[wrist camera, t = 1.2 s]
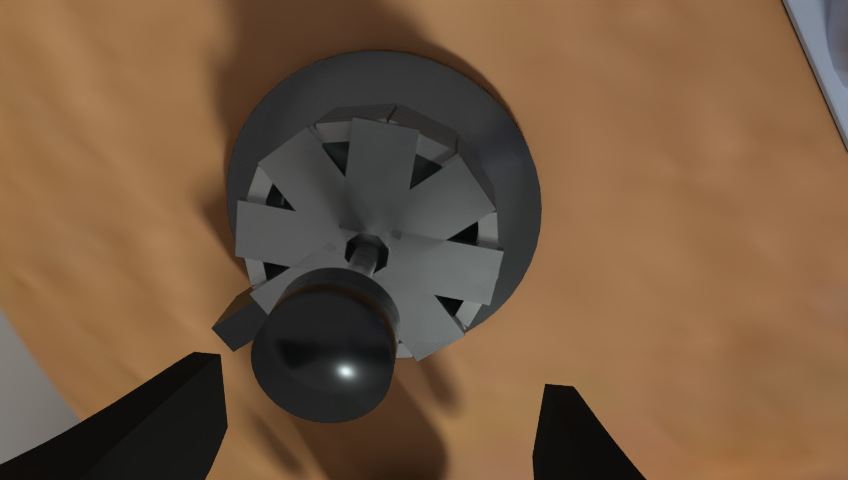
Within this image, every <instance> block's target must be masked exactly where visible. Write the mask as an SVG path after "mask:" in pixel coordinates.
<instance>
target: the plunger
mask: <svg viewBox="0 0 848 480" xmlns="http://www.w3.org/2000/svg"><path fill="white" fill-rule="evenodd" d="M378 258H379V249H378V248H377V246H376V245H375V244H373V243H371V242H361V243H360V244H358V245H357V247H356V249H355V251H354V253H353V255H352V257H351V260H350V262H349V264H348V266H347V268H346V269H345V268H335V267H328V268H320V269H316V270H312V271H309V272H307V273H304V274H302V275H301V276H299V277H297V278H296V279H295V280H293V281H292V282H291V283H290V284H289V285H288V286H287V287H286V289H285V290H284V292H283V293H282V295H281V296H280V298H279V299H278V301H277V302H276V304H275V306H274V307H273V309H272V310H271V312H270V313H269V315H268V317H267V318H266V320H265V321H264V323H263V324H262V326H261V328H260V329H259V331H258V332H257V334H256V336H255V338H254V342H253V345H252V351H251V362H252V368H253V371H254V374H255V377H256V379H257V381H258V383H259V385H260V386H261V388H262V389H263V391H264V392H265V393H266V394H267V396H268V397H269V398H270V399H271V400H272V401H273V402H274V403H276V404H277V405H278V406H280V407H281V408H282V409H284V410H286V411H287V412H289V413H291V414H293V415H295V416H298V417H300V418H303V419H306V420H310V421H314V422H321V423H339V422H345V421H350V420H353V419H357V418H359V417H361V416H363V415H365V414H367V413H368V412H370V411H371V410H373V409H374V408H375V407H376V406H377V405H378V404H379V403H380V402H381V401H382V400H383V398H384V397H385V395H386V393H387V391H388V389H389V386H390V383H391V379H392V374H393V369H394V364H395V359H396V354H397V349H398V344H399V339H400V333H401V321H400V316H399V312H398V310H397V307H396V305H395V303H394V301H393V300H392V298H391V297H390V295H389V294H388V293H387V292H386V290H385V289H384V288H383V287H382V286H380V285H379V284H378V283H377V282H375V281H374V280H372V279H371V277H372V275H373V272H374V269H375V266H376V263H377V260H378Z"/></svg>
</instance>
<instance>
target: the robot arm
mask: <svg viewBox="0 0 848 480" xmlns="http://www.w3.org/2000/svg"><path fill="white" fill-rule="evenodd" d="M783 3H784V5H785V7H786V10H787V12H788V14H789V17H790V19H791V21H792V23H793V26H794V28H795V30H796V33H797V35H798V37H799V40H800V42H801V44H802V46H803V49H804V51H805V53H806V56H807V58H808V60H809V63H810V65H811V67H812V69H813V72H814V74H815V76H816V79H817V81H818V83H819V86H820V88H821V90H822V92H823V95H824V97H825V99H826V102H827V104H828V106H829V109H830V111H831V113H832V115H833V118H834V120H835V122H836V125H837V127H838V129H839V131H840V134H841V136H842V138H843V141H844V143H845V145H846V148H847V150H848V0H783ZM227 428H228V424H227V414H226V404H225V394H224V385H223V375H222V365H221V355H220V354H211V353H200V352H193V353H191V354H189V355H188V356H186V357H184V358H183V359H181V360H179V361H178V362H176V363H175V364H173V365H172V366H170V367H169V368H167V369H165V370H164V371H162V372H161V373H159V374H158V375H156V376H155V377H153V378H152V379H150V380H149V381H147V382H146V383H144V384H142V385H141V386H139V387H138V388H136V389H135V390H133V391H132V392H130V393H128V394H127V395H125V396H124V397H122V398H121V399H119V400H117V401H116V402H114V403H113V404H111V405H109V406H108V407H106V408H104V409H103V410H101V411H99V412H98V413H96V414H94V415H92V416H91V417H89V418H87V419H86V420H84V421H82V422H81V423H79V424H77V425H76V426H74V427H72V428H70V429H69V430H67V431H65V432H63V433H62V434H60V435H58V436H56V437H54V438H52V439H50V440H49V441H47V442H45V443H43V444H41V445H39V446H37V447H35V448H33V449H31V450H29V451H27V452H25V453H23V454H21V455H19V456H17V457H15V458H13V459H11V460H9V461H7V462H5V463H3V464H0V480H205V479H206V477H207V475H208V473H209V471H210V469H211V467H212V465H213V462H214V460H215V458H216V455H217V453H218V451H219V448H220V446H221V443H222V440H223V438H224V435H225V433H226V430H227ZM532 458H533V472H534V480H646V479H645V477H644V476H643V475H642V474H641V473H640V472H639V470H638V469H637V468H636V467H635V466H634V465H633V463H632V462H631V461H630V460H629V459H628V457H627V456H626V455H625V454H624V452H623V451H622V450H621V449H620V447H619V446H618V445H617V444H616V442H615V441H614V440H613V439H612V437H611V436H610V435H609V433H608V432H607V431H606V430H605V428H604V427H603V426H602V424H601V423H600V422H599V420H598V419H597V417H596V416H595V415H594V413H593V412H592V411H591V409H590V408H589V407H588V405H587V404H586V402H585V401H584V400H583V398H582V397H581V395H580V394H579V393H578V391H577V390H576V389H575V388H574V387H573V386H563V385H552V384H545V388H544V393H543V399H542V405H541V410H540V416H539V422H538V427H537V433H536V439H535V444H534V450H533V456H532Z"/></svg>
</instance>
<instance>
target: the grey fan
mask: <svg viewBox="0 0 848 480" xmlns="http://www.w3.org/2000/svg"><path fill="white" fill-rule="evenodd" d="M227 208H228V214H229V220H230V226H231V229H232V232H233V236H234V239H235V242H236V248H235V256H237V257H242V258H243V261H244V262H245V264H246V266H247V271H248V275H249V279H250V284H251V285H253V286H252V287H250V288H249V289H247V290H246V291H244V292H243V293H241V294H239V295H238V296H236V298H235V299H234V300H233V302H232V303H231V304H230V305H229V307H228V308H227V309H226V310H225V312H224V313H223V314H222V316H221V317H220V318H219V319H218V321H217V322H216V323H215V324H214V326H213V327H212V329H213V331H214V332H215V333H216V334H217V335H218V336H219V337H220V338H221V339H222V340H223V341H224V342H225V343H226V344H227V346H228V347H229V348H230V349H231V350H232V351H233V352H234V351H236V350H237V349H239V348H241V347H242V346H244V345H245V344H247V343H249V342H250V341H252V340H253V339H254V338H255V336H256V334H257V332H258V331H259V329H260V328H261V326H262V324H263V323H264V321H265V320H266V318H267V317H268V315H269V313H270V312H271V310H272V309H273V307H274V306H275V304H276V302H277V301H278V299H279V298H280V296H281V295H282V293H283V292H284V290H285V289H286V287H287V286H288V285H289V284H290V283H291V282H292V281H293V280H295V279H296V278H297V277H299V276H301V275H302V274H304V273H307V272H309V271H312V270H316V269H320V268H328V267H335V268H345V269H346V268H347V266H348V264H349V262H350V260H351V257H352V255H353V253H354V251H355V249H356V247H357V245H358V244H360V243H361V242H371V243H373V244H375V245H376V246H377V248H378V249H379V258H378V260H377V263H376V266H375V269H374V272H373V275H372V277H371V279H372V280H374V281H375V282H377V283H378V284H379V285H380V286H382V287H383V288H384V289H385V290H386V292H387V293H388V294H389V295H390V297H391V298H392V300H393V301H394V303H395V305H396V307H397V310H398V312H399V316H400V321H401V333H400V339H399V344H398V349H397V354H396V358H408V357H414V358H415V359H416V360H417V362H418V361H419V360H421V359H423V358H425V357H427V356H429V355H431V354H432V353H434V352H436V351H438V350H440V349H442V348H443V347H445V346H447V345H449V344H451V343H453V342H455V341H456V340H458V339H460V338H462V337H464V336H465V332H468V331H469V330H471V329H472V328H474V327H476V326H477V325H479V324H480V323H482V322H484V321H485V320H486V319H487V318H488V317H490V316H491V315H492V314H493V313H495V312H496V311H497V310H498V309H499V308H500V307H501V306H502V305H503V304H504V303H505V302H506V301H507V299H508V298H509V297H510V296H511V295H512V293H513V292H514V291H515V289H516V288H517V286H518V285H519V284H520V282H521V281H522V279H523V277H524V275H525V273H526V271H527V269H528V267H529V265H530V263H531V260H532V257H533V255H534V252H535V249H536V246H537V241H538V236H539V232H540V225H541V210H542V207H541V194H540V185H539V181H538V176H537V172H536V168H535V165H534V162H533V159H532V157H531V154H530V151H529V149H528V146H527V144H526V142H525V140H524V138H523V136H522V135H521V133H520V131H519V129H518V127H517V125H516V124H515V123H514V121H513V120H512V119H511V117H510V116H509V114H508V113H507V112H506V110H505V109H504V108H503V107H502V106H501V105H500V104H499V103H498V102H497V100H496V99H495V98H494V97H493V96H492V95H491V94H490V93H489V92H488V91H486V90H485V89H484V88H482V87H481V86H480V85H479V84H477V83H476V82H475V81H474V80H472V79H471V78H469V77H468V76H466V75H464V74H462V73H461V72H459V71H457V70H456V69H454V68H452V67H450V66H448V65H445V64H443V63H441V62H438V61H436V60H433V59H431V58H427V57H423V56H420V55H416V54H412V53H408V52H400V51H392V50H363V51H356V52H350V53H343V54H340V55H337V56H333V57H330V58H327V59H324V60H321V61H318V62H316V63H314V64H312V65H310V66H307V67H305V68H303V69H301V70H299V71H297V72H296V73H294V74H293V75H291V76H290V77H288V78H287V79H285V80H284V81H282V82H281V83H279V84H278V85H277V86H276V87H275V88H274V89H273V90H272V91H271V92H269V93H268V94H267V95H266V96H265V97H264V98H263V99H262V101H261V102H260V103H259V104H258V106H257V107H256V108H255V109H254V110H253V112H252V113H251V115H250V116H249V118H248V120H247V121H246V123H245V125H244V126H243V128H242V130H241V132H240V134H239V137H238V139H237V141H236V144H235V146H234V149H233V153H232V157H231V160H230V164H229V169H228V179H227Z"/></svg>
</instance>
